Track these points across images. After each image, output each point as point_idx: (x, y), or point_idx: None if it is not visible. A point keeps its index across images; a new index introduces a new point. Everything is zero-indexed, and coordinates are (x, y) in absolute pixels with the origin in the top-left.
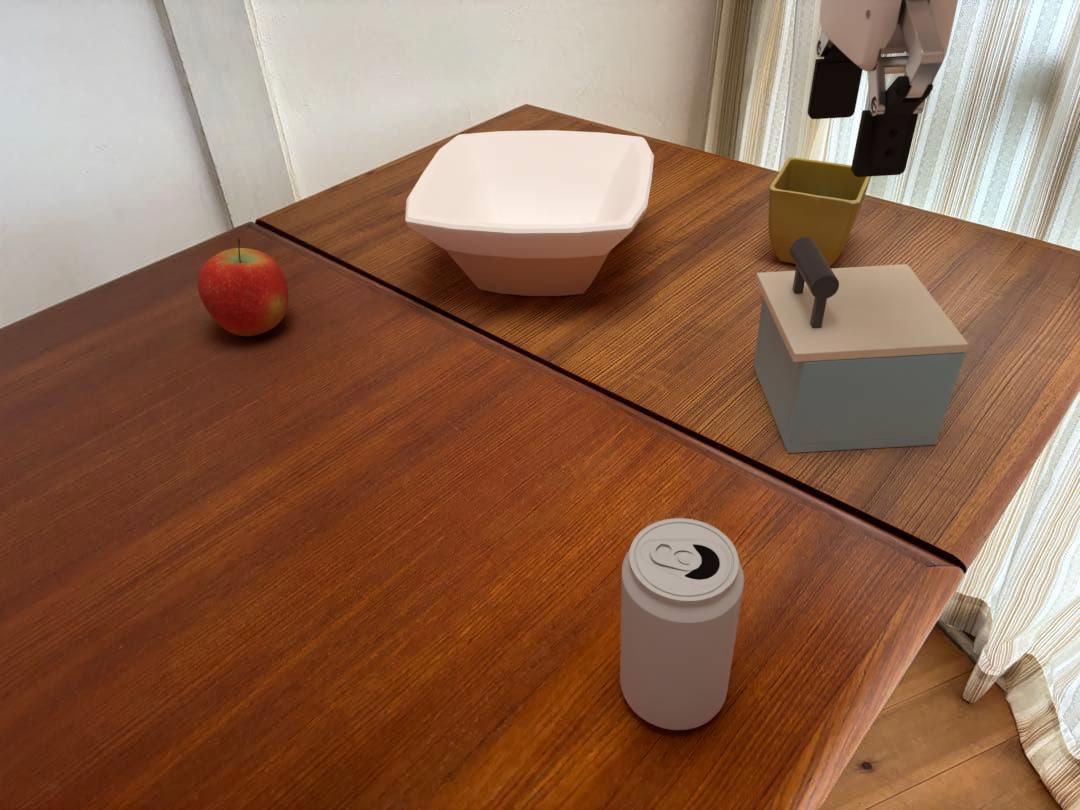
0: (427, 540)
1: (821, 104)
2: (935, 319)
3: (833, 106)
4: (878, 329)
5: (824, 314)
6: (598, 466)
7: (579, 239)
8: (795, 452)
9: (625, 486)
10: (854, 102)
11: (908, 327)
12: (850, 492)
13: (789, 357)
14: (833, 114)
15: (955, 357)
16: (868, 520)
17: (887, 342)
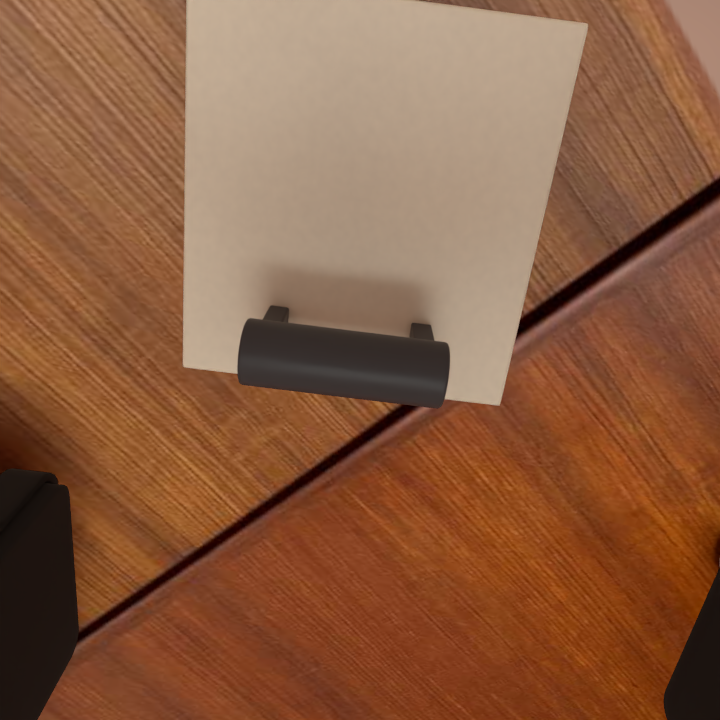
0: (493, 706)
1: (45, 671)
2: (469, 48)
3: (49, 611)
4: (469, 209)
5: (382, 297)
6: (425, 542)
7: None
8: None
9: (470, 521)
10: (29, 529)
11: (483, 136)
12: (575, 249)
13: None
14: (66, 572)
15: None
16: (635, 249)
17: (523, 215)
